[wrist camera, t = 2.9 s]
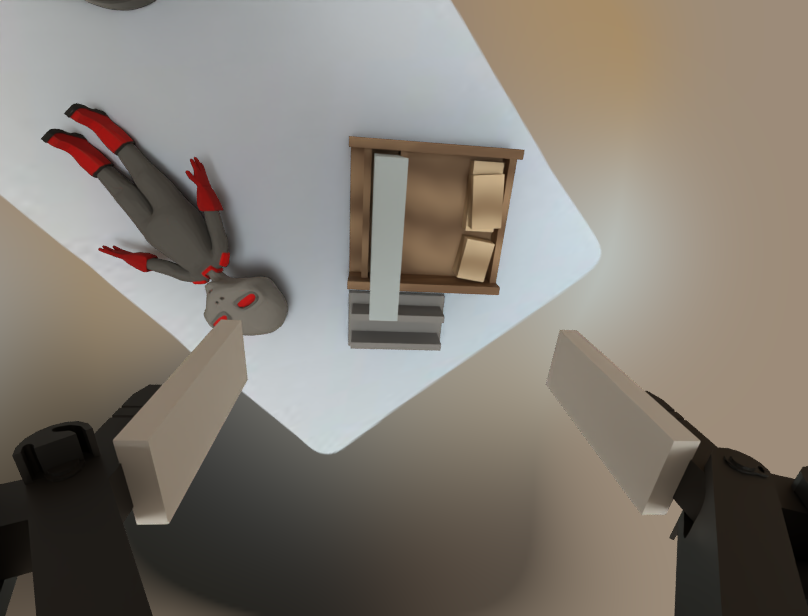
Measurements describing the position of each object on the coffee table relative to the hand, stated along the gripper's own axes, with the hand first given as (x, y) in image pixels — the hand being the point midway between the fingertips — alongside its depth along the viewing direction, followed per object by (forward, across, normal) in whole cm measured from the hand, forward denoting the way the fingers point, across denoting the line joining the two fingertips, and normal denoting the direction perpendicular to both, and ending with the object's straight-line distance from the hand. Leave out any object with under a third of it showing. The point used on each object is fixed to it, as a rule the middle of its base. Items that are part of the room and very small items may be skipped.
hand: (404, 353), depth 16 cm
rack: (+35, +5, 0) cm, 35 cm away
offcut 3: (+34, +12, -4) cm, 36 cm away
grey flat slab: (+34, 0, 0) cm, 34 cm away
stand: (+35, +2, -14) cm, 38 cm away
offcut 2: (+32, +12, +3) cm, 34 cm away
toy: (+35, -23, -3) cm, 42 cm away
